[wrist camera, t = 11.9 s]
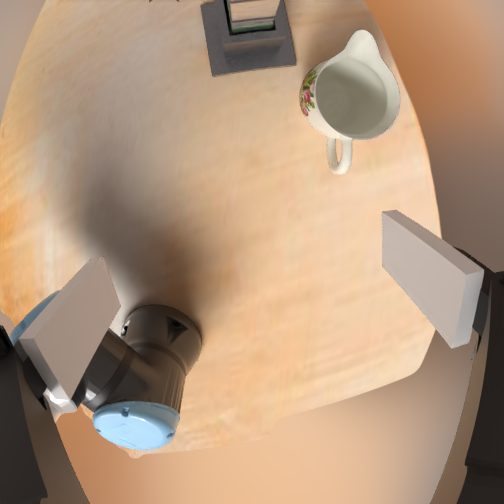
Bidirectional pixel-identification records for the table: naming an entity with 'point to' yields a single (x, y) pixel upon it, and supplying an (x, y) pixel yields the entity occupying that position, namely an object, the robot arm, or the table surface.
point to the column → (252, 15)
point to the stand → (245, 42)
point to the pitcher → (350, 97)
